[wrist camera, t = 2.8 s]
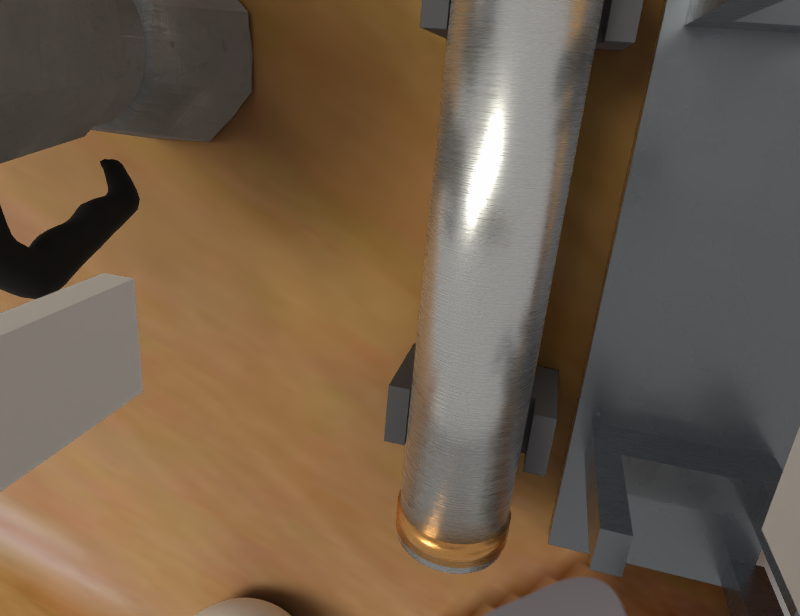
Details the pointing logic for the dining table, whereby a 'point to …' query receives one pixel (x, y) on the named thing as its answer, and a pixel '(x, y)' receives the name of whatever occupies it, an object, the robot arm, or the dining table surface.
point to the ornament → (243, 608)
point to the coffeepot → (109, 102)
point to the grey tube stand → (697, 314)
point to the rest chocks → (542, 414)
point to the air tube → (489, 265)
